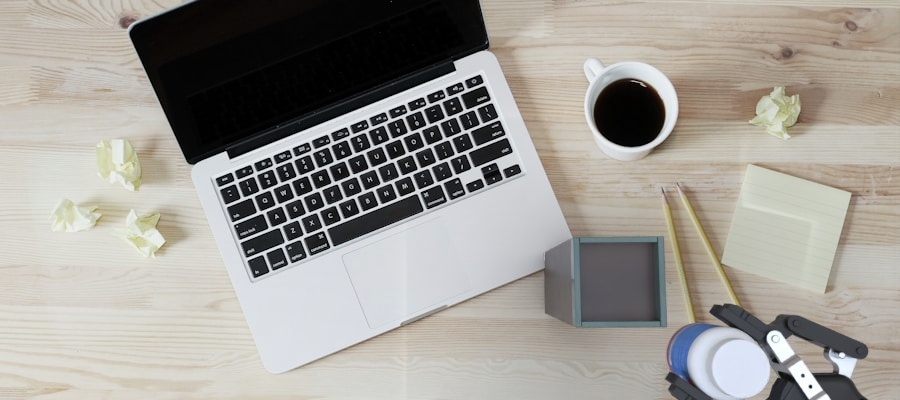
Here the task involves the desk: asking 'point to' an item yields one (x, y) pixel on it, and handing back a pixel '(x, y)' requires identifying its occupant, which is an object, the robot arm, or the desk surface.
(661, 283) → the socket
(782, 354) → the robot arm
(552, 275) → the stand
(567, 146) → the desk surface
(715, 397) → the pill bottle
